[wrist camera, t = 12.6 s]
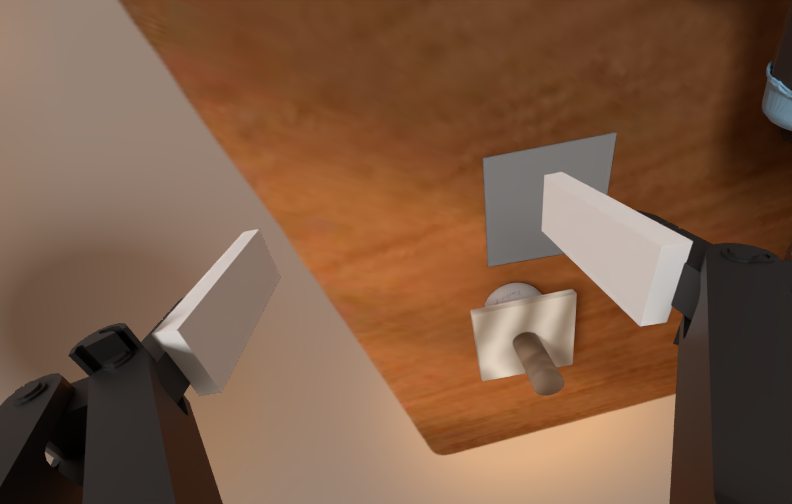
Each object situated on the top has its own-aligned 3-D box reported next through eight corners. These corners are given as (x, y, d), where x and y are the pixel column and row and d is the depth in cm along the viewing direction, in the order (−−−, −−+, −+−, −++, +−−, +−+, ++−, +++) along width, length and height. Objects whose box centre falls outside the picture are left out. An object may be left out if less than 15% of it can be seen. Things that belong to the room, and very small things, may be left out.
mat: (614, 132, 42) (616, 133, 42) (597, 246, 51) (598, 247, 51) (482, 158, 43) (483, 158, 43) (487, 265, 52) (488, 266, 52)
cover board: (572, 288, 45) (613, 334, 37) (568, 358, 53) (602, 409, 45) (470, 309, 47) (488, 358, 39) (480, 375, 54) (497, 427, 46)
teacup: (503, 264, 52) (521, 293, 45) (552, 287, 55) (576, 318, 48) (458, 321, 58) (468, 355, 51) (504, 339, 61) (520, 373, 54)
